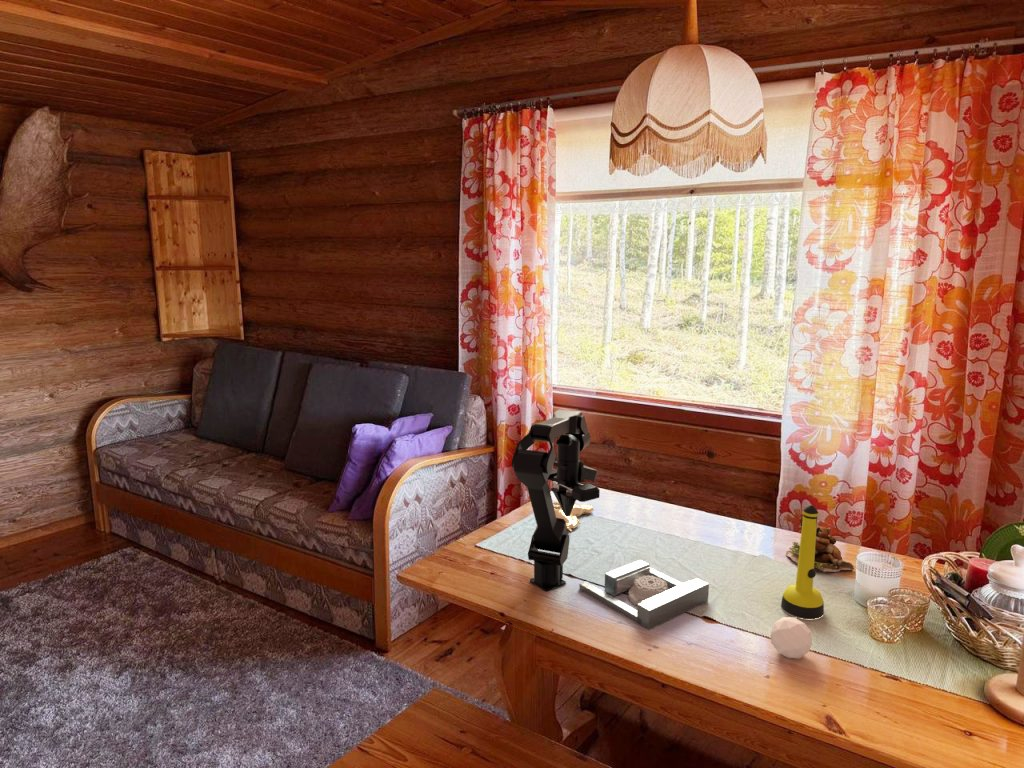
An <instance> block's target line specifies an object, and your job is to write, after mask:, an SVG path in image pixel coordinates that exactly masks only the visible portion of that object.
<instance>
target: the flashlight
mask: <svg viewBox="0 0 1024 768" xmlns="http://www.w3.org/2000/svg"><path fill="white" fill-rule="evenodd" d="M819 516H820V515H819V510H818V509H817V508H816V506H814V505H813V504H809V505H806V507H804V508H803V510H802V518H803V522H802V529H801V533H800V542H799V545H800V550H799V559H798V564H797V571H796V580H795V583H794V584H793V583H792V584H790V585H788V586H787V587H786V588H785V590H784V591H783V592H782V597H781V604H780V609H781V610H782V611H783V612H784V614H787V616H789V615H790V616H789V617H792V616H793V617H797V618H803V619H815V618H819V617H821V616H822V615H823V614H824V613H825V611H824V609H825V603H824V602H825V601H824V598H823V596H822V594H821V592H820V591H819V590H818V589H817V588H815V587H814V578H816V575H817V571H816V570H815V567H814V559H815V543H816V528H817V524H818V517H819ZM797 618H796V619H797Z"/></svg>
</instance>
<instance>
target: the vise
mask: <svg viewBox="0 0 1024 768" xmlns="http://www.w3.org/2000/svg"><path fill="white" fill-rule="evenodd" d="M652 575H653V576H654V577H657V578H658V577H660V578H661V579H662V580H664V581H666V583H667V588H668V590H667V591H665V592H662V593H660V594H658V595H655V596H653V597H651V598H649V599H646V600H644V601H642V602H641V603H639V604H638V606H637V609H635V608H634V607H632V606H630V605H628V604H627V603H625V602H624V601H621V600H619V599H618V598H617V597H615V596H612V595H610V594H609V593H607V592H605V590H602V589H600V588H599V587H597V586H595V585H593V584H591V583H589V582H588V581H582V582H580V583H579V591H582V592H583V594H584V593H585V594H586V595H587V596H589V597H591V598H593V599H595V600H596V601H599V602H600V603H601V604H604V605H605V606H607V607H609V608H611V609H612V610H614V611H615V612H617V613H619V614H620V615H622V616H624V617H626V618H627V619H629V620H630V621H633V622H634V623H636V624H637V625H639V626H641V627H643V628H645V629H646V630H648V631H650V630H651V629H654V628H656V627H658V626H659V625H662V624H664V623H666V622H668V621H670V620H673V619H674V618H676V617H679V616H681V615H683V614H685V613H688V612H689V611H692V610H694V609H695V608H697V607H700V606H701V605H704V604H705V603H708V602H709V593H710V591H709V589H710V583H709V582H706V581H704V580H702V579H700V578H698V577H695V578H694V579H691V580H688V581H685V582H681V581H679V580H678V579H675V578H673V577H671V576H669V575H666V574H665V573H663V572H661V571H658V570H656V569H655V568H652V567H650V574H649V576H652Z"/></svg>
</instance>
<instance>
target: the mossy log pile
mask: <svg viewBox="0 0 1024 768" xmlns="http://www.w3.org/2000/svg"><path fill="white" fill-rule="evenodd" d="M798 521H799V522H800V528H801V530H802V522H803V516H801V517H799V518H798ZM829 534H831V527H827V528H826V526H820V525H819V524H818V523H817V528H816V543H815V559H814V569H818V570H819V571H822V572H830V573H831V572H832V573H838V572H840V571H853V570H854V569H855V566H854V565H853V564H852V563H851V562H848V561H846V560H845V559H844V558H843V557H842V552H841V550H840V549H839V548H838V547H837V546H836V545H835V544H836V543H837V539H836V537H834V536H832V535H829ZM791 543H792V546H790V547H789V548H788V550H787V551H786V553H785V556H786V557H789V559H791V560H792V562H794V563H795V564H796V565H798V559H799V550H800V543H798V542H796V541H793V542H791Z"/></svg>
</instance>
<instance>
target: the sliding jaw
mask: <svg viewBox="0 0 1024 768" xmlns="http://www.w3.org/2000/svg"><path fill="white" fill-rule="evenodd" d="M650 568H651V567H650V563H648V562H647V561H643V560H642V559H639V560H636V561H633V562H630V563H629V564H625V565H623V566H619V567H617V568H615V569H613V570H610V571H608V572H605V573H604V592H605V593H607V594H609V595H611V596H613V597H615V596H618V595H621V594H622V593H625V592H627V591H629V590H630V588H631V587H633V586H634V582H635V580H636V579H637V578H638V577H643V576H644V575H645V576H647V575H649V574H650Z"/></svg>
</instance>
